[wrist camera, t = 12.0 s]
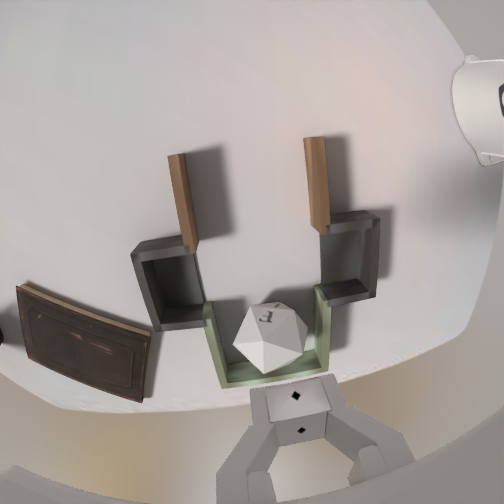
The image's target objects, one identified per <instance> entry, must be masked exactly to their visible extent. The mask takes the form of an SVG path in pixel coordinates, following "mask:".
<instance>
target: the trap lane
mask: <svg viewBox="0 0 504 504" xmlns="http://www.w3.org/2000/svg"><path fill="white" fill-rule="evenodd" d="M303 140H304V149H305V158H306V168H307V179H308V190H309V203H310V217H311V225H312V226H313V227H314V228H315V229H316V230H317V231H318V232H319V233H320V256H321V284H319V285H314V350H311V351H306V352H303V354H302V355H301V356H300V357H298V358H297V359H296V360H295V361H293V362H292V363H290V364H288V365H286V366H283V367H281V368H278V369H276V370H273V371H271V372H268V373H265V374H263V373H262V372H261V371H260V370H259V369H258V368H257V367H256V366H255V365H254V364H253V363H251V362H250V361H247V362H239V363H231V364H227V362H226V358H225V354H224V350H223V346H222V342H221V338H220V334H219V330H218V326H217V322H216V317H215V313H214V309H213V304H212V301H209V302H204V300H203V296H202V291H201V287H200V283H199V278H198V274H197V269H196V265H195V260H194V255H193V254H195V253H196V250H197V247H198V243H199V237H198V232H197V227H196V221H195V216H194V210H193V205H192V199H191V193H190V187H189V181H188V175H187V169H186V162H185V156H184V154H175V155H170V156H168V162H169V169H170V175H171V181H172V186H173V192H174V198H175V203H176V208H177V214H178V219H179V224H180V229H181V234H182V235H179V236H173V237H167V238H161V239H155V240H149V241H144V242H140V243H139V244H138V246H137V247H136V248H135V249H134V250H133V251H132V253H131V254H130V256H131V259H132V263H133V266H134V270H135V273H136V276H137V280H138V283H139V286H140V289H141V292H142V295H143V299H144V302H145V305H146V307H147V310H148V313H149V316H150V319H151V322H152V324H153V327H154V330H155V332H161V331H172V330H182V329H191V328H200V327H204V330H205V334H206V338H207V341H208V345H209V348H210V352H211V355H212V359H213V362H214V366H215V369H216V372H217V376H218V379H219V382H220V385H221V388H222V389H224V388H233V387H241V386H249V385H256V384H263V383H269V382H275V381H281V380H287V379H292V378H298V377H303V376H307V375H312V374H317V373H321V372H326V371H328V367H329V351H330V330H331V307H333V306H338V305H342V304H347V303H352V302H356V301H361V300H365V299H370V298H374V297H376V288H377V275H378V260H379V237H380V218H379V217H377V216H375V215H373V214H371V213H369V212H367V211H365V210H361V211H352V212H343V213H335V214H330V207H329V190H328V176H327V164H326V153H325V143H324V137H310V138H303Z"/></svg>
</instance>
